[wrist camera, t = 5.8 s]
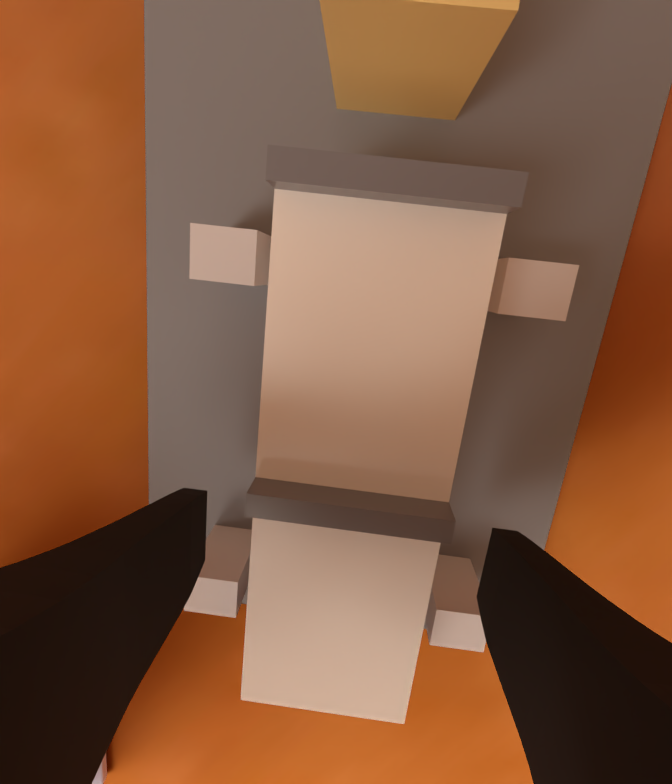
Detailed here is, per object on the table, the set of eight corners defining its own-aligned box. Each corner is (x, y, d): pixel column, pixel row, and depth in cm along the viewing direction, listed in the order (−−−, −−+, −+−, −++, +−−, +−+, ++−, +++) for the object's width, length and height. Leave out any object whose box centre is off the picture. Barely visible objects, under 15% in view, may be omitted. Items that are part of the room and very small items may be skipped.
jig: (507, 615, 16) (549, 713, 12) (164, 568, 16) (108, 650, 13) (679, -47, 11) (839, -211, 7) (165, -91, 11) (71, -266, 7)
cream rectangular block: (307, 201, 12) (264, 143, 7) (459, 218, 11) (532, 172, 6) (274, 582, 15) (229, 735, 10) (393, 598, 15) (407, 762, 10)
